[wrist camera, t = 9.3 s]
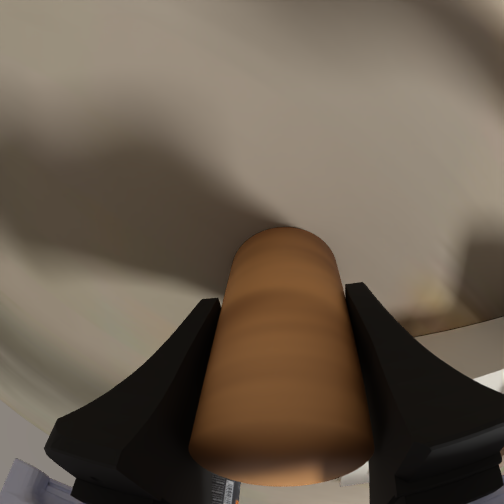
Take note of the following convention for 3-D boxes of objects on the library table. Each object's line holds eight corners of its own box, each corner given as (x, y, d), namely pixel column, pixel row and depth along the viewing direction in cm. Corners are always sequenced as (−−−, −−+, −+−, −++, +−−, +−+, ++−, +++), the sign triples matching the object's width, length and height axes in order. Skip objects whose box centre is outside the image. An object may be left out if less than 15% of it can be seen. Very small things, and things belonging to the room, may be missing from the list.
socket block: (458, 424, 20) (468, 456, 17) (337, 449, 21) (339, 486, 18) (514, 313, 13) (540, 354, 10) (343, 348, 15) (352, 405, 12)
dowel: (338, 309, 14) (363, 479, 7) (242, 319, 15) (216, 484, 8) (334, 220, 12) (387, 407, 5) (221, 234, 12) (159, 417, 6)
